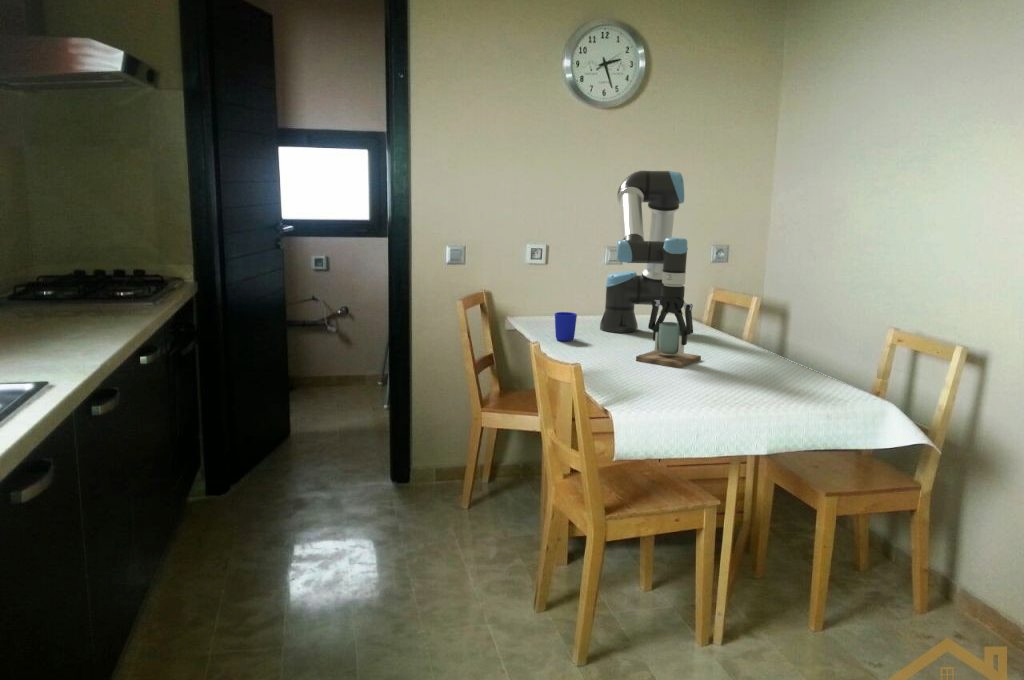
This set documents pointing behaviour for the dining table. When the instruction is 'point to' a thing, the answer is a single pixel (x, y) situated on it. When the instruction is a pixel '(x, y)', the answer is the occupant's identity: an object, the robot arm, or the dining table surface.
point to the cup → (669, 337)
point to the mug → (565, 326)
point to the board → (668, 359)
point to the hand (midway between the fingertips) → (668, 352)
